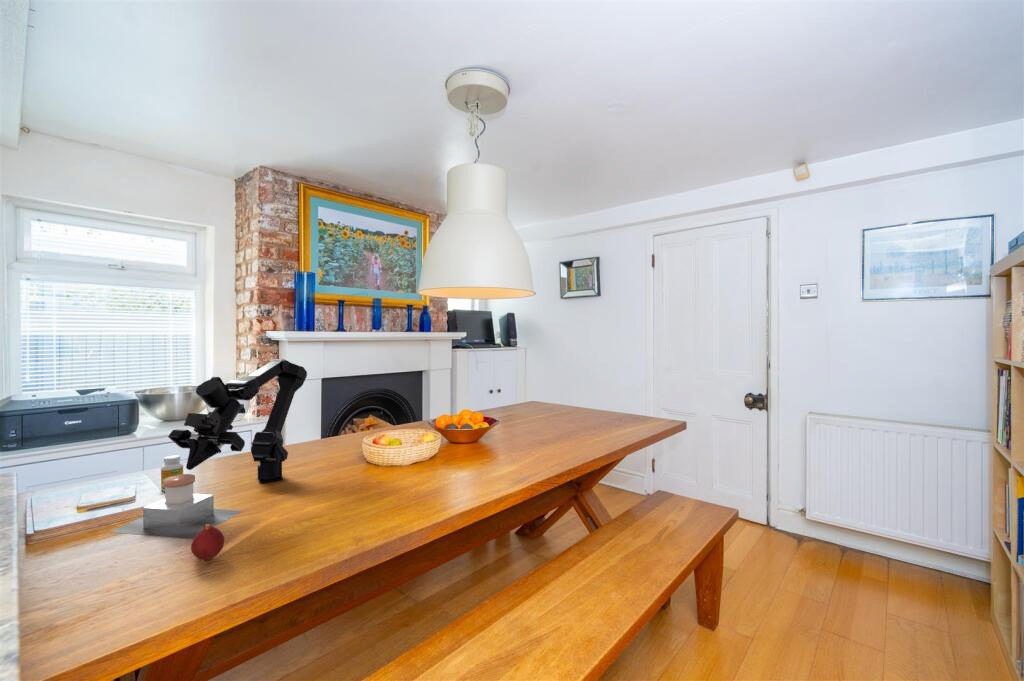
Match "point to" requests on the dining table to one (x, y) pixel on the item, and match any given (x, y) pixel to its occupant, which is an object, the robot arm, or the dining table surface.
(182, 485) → the terracotta plug
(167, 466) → the supplement bottle
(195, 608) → the dining table surface
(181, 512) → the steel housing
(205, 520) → the slate board
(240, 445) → the robot arm
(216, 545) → the onion
